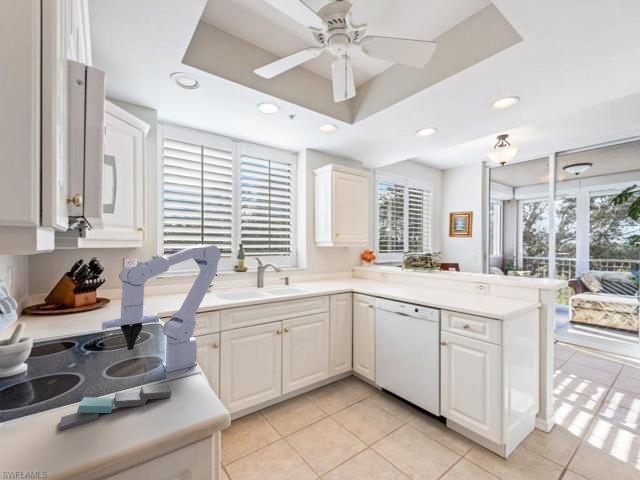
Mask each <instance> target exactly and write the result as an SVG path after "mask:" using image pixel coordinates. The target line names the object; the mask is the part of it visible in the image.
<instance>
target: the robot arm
mask: <svg viewBox="0 0 640 480" xmlns="http://www.w3.org/2000/svg"><path fill="white" fill-rule="evenodd" d="M151 257H152V258H149V259H145V260H143V261H141V260H140V261H137V262H136V263H137V264H136V265H135V264H129V265H126V266H124V267H123V268H122V269H121V271H120V273H119V274H118V278H119V280H120V281H121V282H122V283H121V284H122V285H121V300H120V301H121V302H120V305H121V306H120V318H115V319H110V320H103V321H101V330H102V331H104V330H107V329H113V328H114V329H115V328H120V329H121V332H122V333H123V335H124V338H125V341H126V349H127V351H133V350H134V349H135V348H134V347H135V345H136V341H137V339H138V336H139V334H140V333H141V331H142V330H143V327H144V326H143V324H150V323H151V324H152V323H154V324H156V323H157V324H158V323H159V322H160V316H159V314H156V315H144V300H145V299H144V298H145V295H144V294H145V284H146V283H147V281H148V280H149V279H151V278H154V277H156V276H158V275H161V274H164V273H166V272H168V271H169V269H170V267H172V266H173V265H174V266H175V265H176V264H180V263H182V262H186V261H188V260H190V259H193V261H194V262H195V263H196V265H197V266H198V268H199V270H200V271H199V273H198V275H197V276H196V279H195V280H194V282H193V284H192V286H191V288H190V289H189V291H188V293H187V295H186V297H185V299H184V301H183V302H182V305H181V306H180V308H179V310H177V311H176V312H174V313H172V315H171V316H170V318H169V319H168V320H167V321H165V323H164V324H163V327H162V332H163V335H164V336H166V338H165V339H166V340H165V341H166V345H165V348H166V349H165V361H164V362H162V366H163V367H164V369H165V370H166V373H171V372H174V371H178V370H182V369H186V368H190V367H195V366H197V365H198V363H197V356H198V354H197V353H198V352H197V351H198V350H197V348H198V344H197V339H196V337H194V336H193V335H194V331H195V330H194V329H195V325H197V320H196V317H195V315H196V313H197V311H198V309H199V307H200V305H201V304H202V301H203V300H204V297H205V295H206V294H207V292H208V289H209V288H210V286H211V284H212V282H213V280H214V278H215V276H216V275H217V271H218V266H219V261H220V259H221V258H222V254H221V251H220V249H219V247H218V246H217V245H214V244H209V245H208V244H202V243H198V244H195V245H191V246H188V247H186V248H184V249H181V250H179V251H177V252H175V253H173V254H169V255H167V256H163V255H157V254H154V255H152V256H151ZM195 362H196V363H195Z"/></svg>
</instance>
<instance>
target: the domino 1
mask: <svg viewBox="0 0 640 480" xmlns="http://www.w3.org/2000/svg"><path fill="white" fill-rule="evenodd" d="M113 407H114V398H113V397H112V398H111V397H91V396H90V397H88V396H86V397H85V396H84V397H83V398H82V400H81V402H80V404H79V405H78V407H77V410H76V413H98V414H111V413H112V410H113Z"/></svg>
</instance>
